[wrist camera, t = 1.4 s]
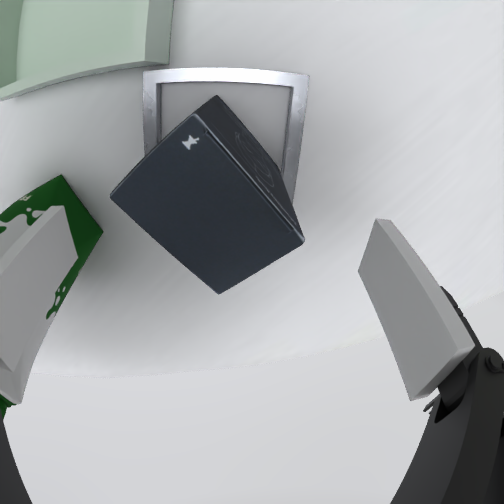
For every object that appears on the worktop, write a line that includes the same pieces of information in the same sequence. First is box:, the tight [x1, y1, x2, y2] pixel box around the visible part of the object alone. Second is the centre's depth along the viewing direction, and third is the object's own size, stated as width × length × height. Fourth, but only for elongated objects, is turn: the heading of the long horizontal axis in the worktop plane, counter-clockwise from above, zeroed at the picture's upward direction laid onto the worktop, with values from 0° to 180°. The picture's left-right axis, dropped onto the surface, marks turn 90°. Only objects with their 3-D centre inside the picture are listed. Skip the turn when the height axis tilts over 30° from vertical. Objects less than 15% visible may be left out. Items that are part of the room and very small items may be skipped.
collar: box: [143, 68, 309, 204], centre depth 20 cm, size 12×14×1 cm
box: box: [110, 95, 305, 294], centre depth 16 cm, size 8×6×11 cm
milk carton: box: [0, 175, 103, 419], centre depth 15 cm, size 9×9×20 cm
